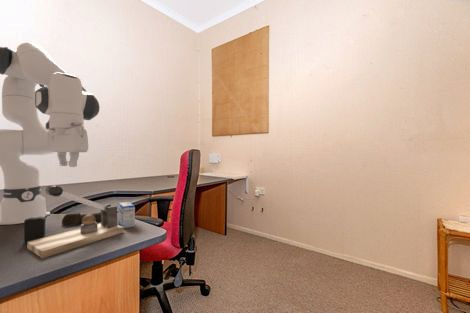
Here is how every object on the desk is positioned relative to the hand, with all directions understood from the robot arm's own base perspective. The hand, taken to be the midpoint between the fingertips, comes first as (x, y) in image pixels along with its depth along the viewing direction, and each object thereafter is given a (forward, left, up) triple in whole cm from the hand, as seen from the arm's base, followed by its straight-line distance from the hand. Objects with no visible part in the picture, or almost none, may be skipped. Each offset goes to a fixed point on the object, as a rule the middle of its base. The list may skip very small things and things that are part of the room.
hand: (68, 166), depth 74 cm
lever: (0, +4, -13) cm, 14 cm away
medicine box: (-1, +21, -25) cm, 33 cm away
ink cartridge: (-11, -6, -25) cm, 28 cm away
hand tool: (-17, +14, -26) cm, 34 cm away
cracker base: (0, +3, -25) cm, 25 cm away
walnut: (0, +6, -21) cm, 22 cm away
